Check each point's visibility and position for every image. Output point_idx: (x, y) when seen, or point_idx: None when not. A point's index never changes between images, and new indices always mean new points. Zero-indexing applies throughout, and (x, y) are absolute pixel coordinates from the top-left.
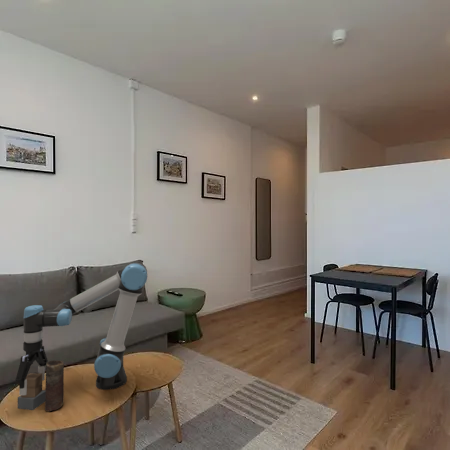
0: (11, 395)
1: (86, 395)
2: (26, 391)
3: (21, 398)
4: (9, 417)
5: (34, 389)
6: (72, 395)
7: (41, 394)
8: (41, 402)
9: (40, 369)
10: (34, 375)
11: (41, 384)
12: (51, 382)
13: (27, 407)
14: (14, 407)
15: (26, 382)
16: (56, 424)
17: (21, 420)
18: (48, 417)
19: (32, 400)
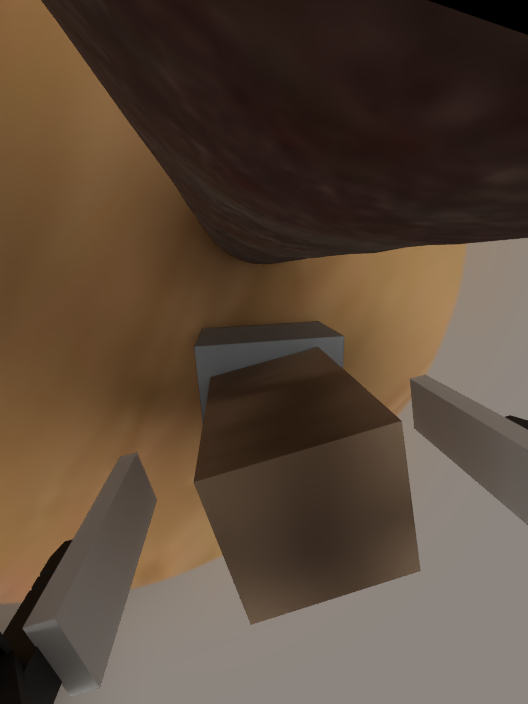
0: (217, 556)
1: (7, 40)
2: (430, 389)
3: None
4: (401, 386)
5: (343, 371)
6: (66, 186)
7: (254, 341)
8: (248, 327)
9: (102, 603)
10: (289, 524)
11: (222, 399)
12: (481, 4)
13: None
14: None
15: (523, 440)
16: None
17: (419, 298)
18: None
19: (340, 339)
